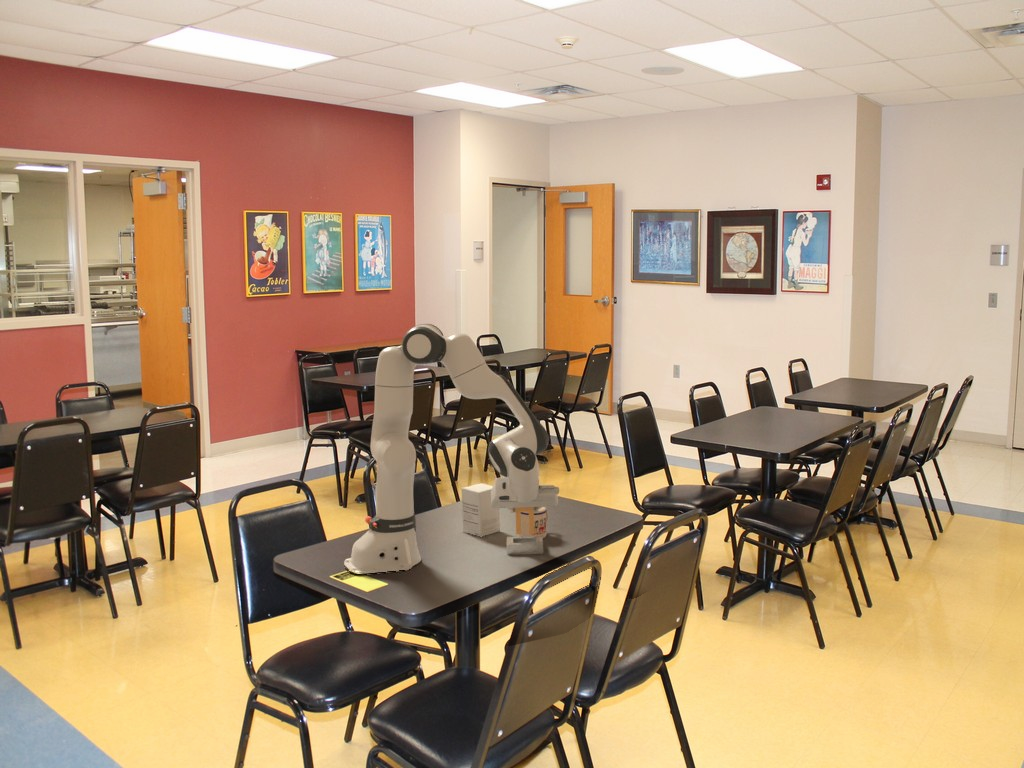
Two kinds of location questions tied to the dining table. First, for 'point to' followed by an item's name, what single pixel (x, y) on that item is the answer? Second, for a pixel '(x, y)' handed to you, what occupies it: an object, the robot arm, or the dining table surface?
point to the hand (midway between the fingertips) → (524, 510)
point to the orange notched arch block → (531, 519)
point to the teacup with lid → (539, 523)
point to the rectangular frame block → (525, 545)
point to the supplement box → (479, 511)
